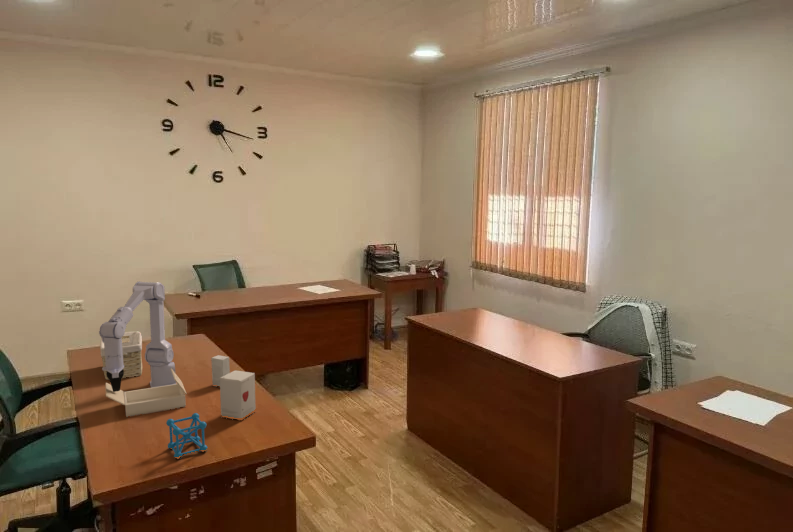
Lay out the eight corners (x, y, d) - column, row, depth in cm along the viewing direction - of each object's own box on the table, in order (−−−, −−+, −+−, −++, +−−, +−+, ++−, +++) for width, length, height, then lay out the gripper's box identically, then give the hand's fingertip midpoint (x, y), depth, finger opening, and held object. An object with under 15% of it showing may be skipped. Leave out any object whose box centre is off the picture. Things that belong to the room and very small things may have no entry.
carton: (181, 394, 220) (180, 383, 220) (185, 407, 208) (185, 395, 207) (124, 403, 211) (123, 391, 210) (126, 417, 199) (125, 405, 198)
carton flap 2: (180, 382, 220) (181, 381, 220) (185, 394, 207) (186, 394, 208) (170, 368, 217) (171, 368, 217) (174, 380, 205) (175, 379, 205)
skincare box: (230, 384, 231) (229, 356, 229) (223, 388, 227) (222, 359, 225) (219, 382, 234) (218, 354, 232) (212, 385, 230) (210, 357, 228)
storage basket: (144, 377, 240) (142, 343, 237) (101, 382, 233) (98, 348, 231) (143, 360, 261) (141, 330, 259) (104, 365, 254) (101, 333, 252)
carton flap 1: (106, 382, 207) (105, 383, 207) (106, 395, 195) (105, 396, 195) (123, 391, 210) (122, 392, 210) (124, 404, 198) (124, 405, 198)
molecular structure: (208, 452, 174) (207, 422, 172) (175, 461, 168) (173, 430, 166) (199, 440, 182) (197, 411, 180) (167, 448, 176) (165, 418, 174)
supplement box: (241, 421, 196) (240, 380, 193) (220, 418, 199) (218, 377, 197) (256, 412, 204) (255, 372, 202) (236, 408, 207) (234, 369, 205)
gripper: (101, 350, 205) (103, 386, 207) (101, 362, 192) (104, 399, 195) (122, 348, 208) (125, 383, 210) (124, 359, 196) (126, 396, 198)
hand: (116, 390), depth 203 cm, fingers closed
